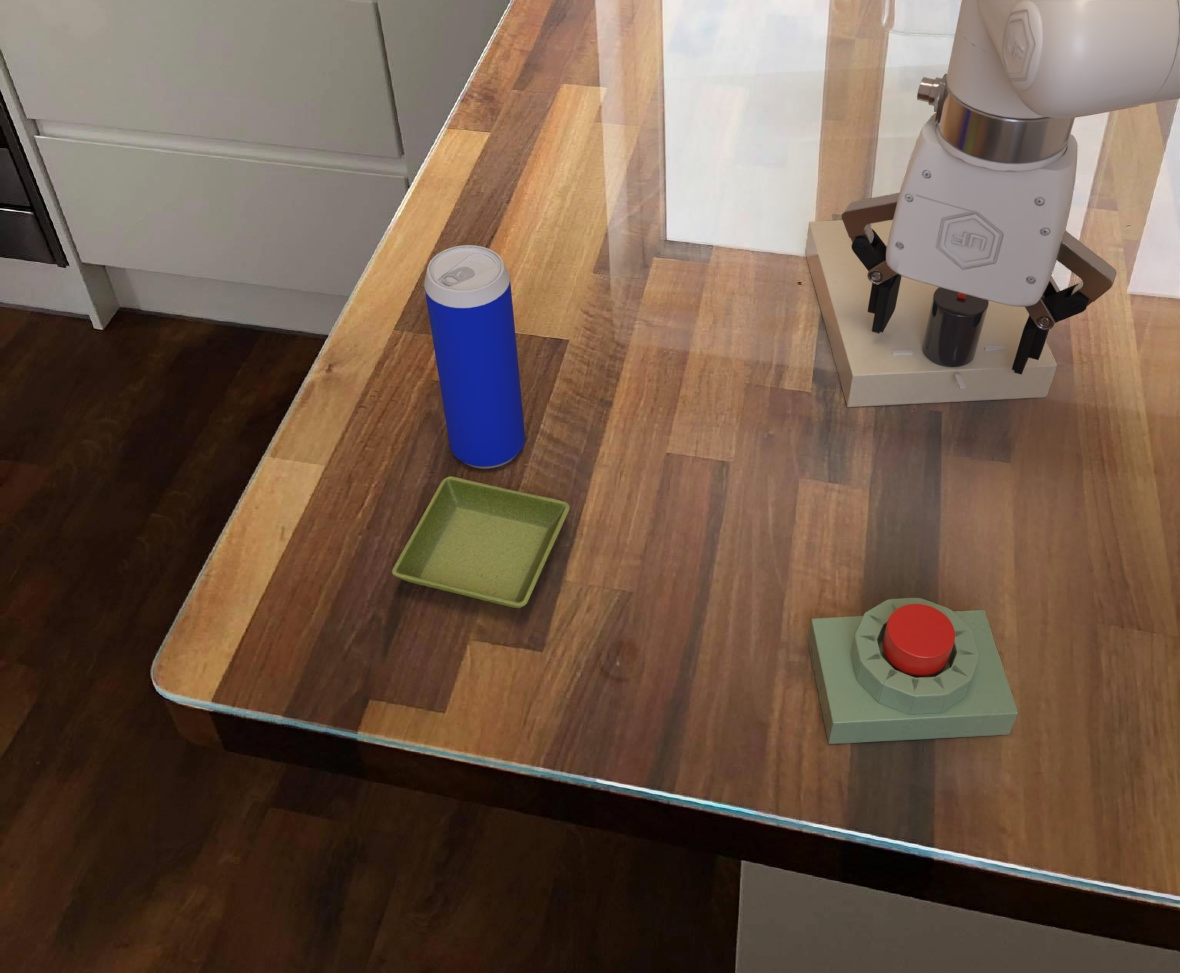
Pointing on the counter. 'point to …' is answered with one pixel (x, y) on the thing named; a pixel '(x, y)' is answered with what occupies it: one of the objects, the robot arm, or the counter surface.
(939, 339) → the knob
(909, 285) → the panel
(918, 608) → the button
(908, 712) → the green button base
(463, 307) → the beverage can
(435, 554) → the green square tray
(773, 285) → the counter surface
